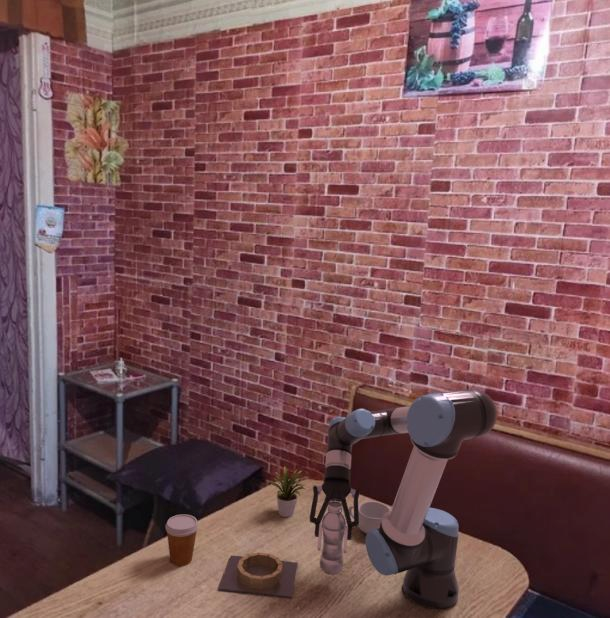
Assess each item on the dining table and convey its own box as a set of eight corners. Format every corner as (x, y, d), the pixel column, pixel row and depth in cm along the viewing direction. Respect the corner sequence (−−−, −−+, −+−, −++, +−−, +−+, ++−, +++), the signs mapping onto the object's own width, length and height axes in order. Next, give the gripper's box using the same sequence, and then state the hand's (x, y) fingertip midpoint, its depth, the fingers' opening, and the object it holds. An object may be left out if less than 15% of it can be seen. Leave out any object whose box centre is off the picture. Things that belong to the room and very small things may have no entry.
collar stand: (297, 564, 175) (298, 553, 175) (291, 598, 160) (292, 586, 159) (231, 557, 177) (231, 546, 176) (218, 590, 161) (218, 578, 161)
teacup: (394, 530, 198) (396, 507, 197) (380, 544, 189) (382, 520, 188) (357, 516, 205) (358, 495, 204) (341, 529, 196) (343, 507, 195)
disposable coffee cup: (185, 547, 181) (186, 510, 179) (204, 561, 174) (205, 523, 172) (158, 558, 174) (158, 520, 172) (176, 573, 168) (177, 534, 166)
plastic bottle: (341, 580, 162) (346, 511, 159) (316, 575, 164) (321, 507, 161) (344, 567, 169) (349, 500, 166) (320, 563, 170) (325, 497, 167)
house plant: (294, 530, 194) (297, 483, 192) (258, 518, 200) (260, 473, 197) (313, 511, 207) (315, 467, 204) (277, 501, 213) (280, 458, 210)
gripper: (370, 476, 177) (366, 557, 163) (305, 471, 179) (297, 550, 165) (371, 466, 171) (368, 550, 157) (304, 461, 173) (296, 543, 159)
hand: (332, 550), depth 161 cm, fingers closed on plastic bottle, 6 cm apart
